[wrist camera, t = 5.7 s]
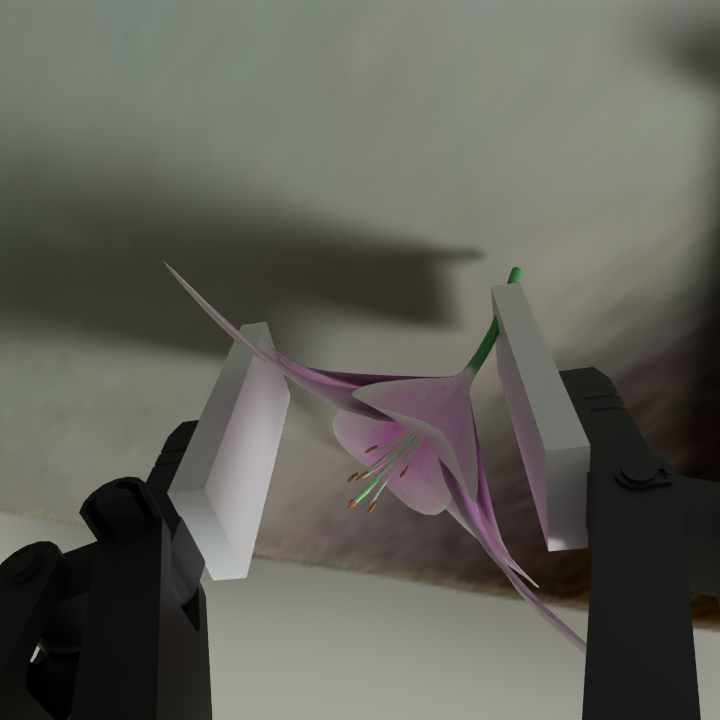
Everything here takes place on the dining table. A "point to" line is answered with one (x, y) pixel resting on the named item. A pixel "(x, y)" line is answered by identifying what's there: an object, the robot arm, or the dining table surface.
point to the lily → (412, 441)
